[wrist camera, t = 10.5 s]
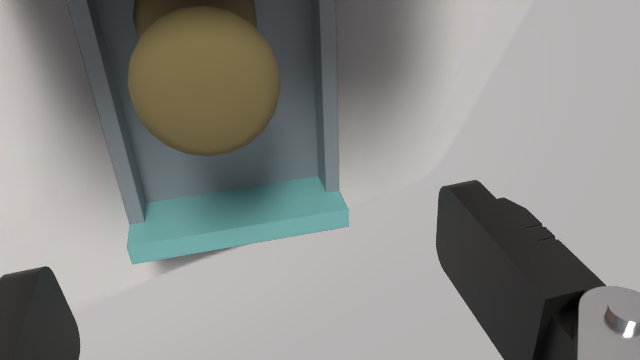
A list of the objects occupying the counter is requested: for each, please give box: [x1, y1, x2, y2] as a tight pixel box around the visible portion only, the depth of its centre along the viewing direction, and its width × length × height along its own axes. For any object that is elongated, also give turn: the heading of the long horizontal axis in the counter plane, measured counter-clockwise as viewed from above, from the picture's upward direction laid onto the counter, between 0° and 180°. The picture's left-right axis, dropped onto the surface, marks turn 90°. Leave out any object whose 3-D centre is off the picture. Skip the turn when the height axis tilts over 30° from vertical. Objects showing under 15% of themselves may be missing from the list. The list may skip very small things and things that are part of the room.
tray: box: [66, 0, 349, 264], centre depth 26 cm, size 12×17×5 cm
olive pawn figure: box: [128, 0, 281, 157], centre depth 21 cm, size 6×6×11 cm
